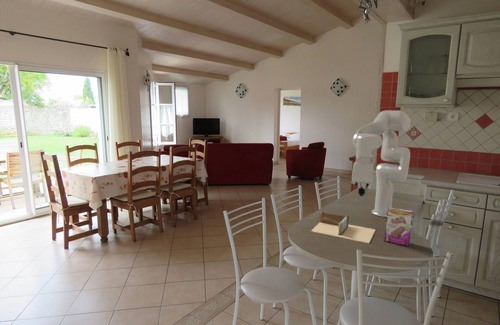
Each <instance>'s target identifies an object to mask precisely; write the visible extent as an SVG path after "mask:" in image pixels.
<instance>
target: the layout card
mask: <svg viewBox="0 0 500 325" xmlns="http://www.w3.org/2000/svg"><path fill="white" fill-rule="evenodd" d="M310 232H312V233H316V234H320V235H325V236H330V237H336V238H338V239H339V238H340V239H344V240H350V241H354V242H359V243H363V244H370V243H371V241H372V239H373V237H374V235H375V233H376V229H374V228H370V227H369V228H368V227H363V226H359V225H353V224H349V223H348V227H346V228H345V230H344V231H343V232H342V234H338V232H339V225H334V224H329V223H324V222H320V221H319V222H318V223H317V224H316V225H315V226H314V227H313V229H311V230H310Z"/></svg>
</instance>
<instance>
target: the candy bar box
mask: <svg viewBox="0 0 500 325" xmlns="http://www.w3.org/2000/svg"><path fill="white" fill-rule="evenodd" d="M413 220H414V210H408V209H403V208H396V207H392V208H391V207H389V208H388V210H387V217H386V221H385V232H384V242H388V243H392V244H397V245H400V246H401V245H402V246H405V247H406V246H407V247H410V245H411V239H412V238H411V237H412V230H413V229H412V228H413Z"/></svg>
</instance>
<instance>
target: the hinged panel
mask: <svg viewBox="0 0 500 325" xmlns="http://www.w3.org/2000/svg"><path fill="white" fill-rule="evenodd" d="M346 227H347V217H345V218H344V219H343V220H342V221H341V222H339V232H338V234H342V232H343V231H344V230H345V228H346Z"/></svg>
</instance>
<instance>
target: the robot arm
mask: <svg viewBox="0 0 500 325" xmlns="http://www.w3.org/2000/svg"><path fill="white" fill-rule="evenodd" d="M411 124H412V123H411V119H410V117H409V116H408V115H407V113H406V112H404V111H403V110H382V111H380V112H379V113H378V114H377V116H376V117H375V119H374V120H373V122H371V123H367V124H366V125H363V126H361V127H359V129H357V130H356V132H355V134H354V135H353V137H352V145H353V146H354V147H355V149H356V150H355V161H354V162H353V164H352V171H351V172H352V174H351V182H350V184H353V185H355V186H356V187H357V188H358V194H357V195H359V197H364V195H366V194H365V193H366V189H367V188H368V187H369V186H374V177H375V176H374V172H375V175H376V186H375V188H376V189H375V200H374V209H372V210H371V213H372V214H373V215H374V216H377V217H384V218H387V210H388V208H389V207H391V208H393V205H392V204H393V197H394V196H393V194H394V185H393V182H392V181H397V182H398V181H399V182H404V181H405V182H406V180H407V179H408V175H409V167H410V160H411V150H410V149H409V148H408V147H406V146H399V137H398V135H397V133H396V132H397V131H398V132H407V131H409V129H410V127H411ZM380 148H381V151H380V159H381V160H382V161H384V163H379V164H378V165H377V166H376V168H374V163H373V162H375V160H376V159H375V158H373V150H377V149H380ZM385 162H390V163H385ZM393 163H394V164H393ZM395 163H398V164H395ZM362 184H363V186H362Z"/></svg>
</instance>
